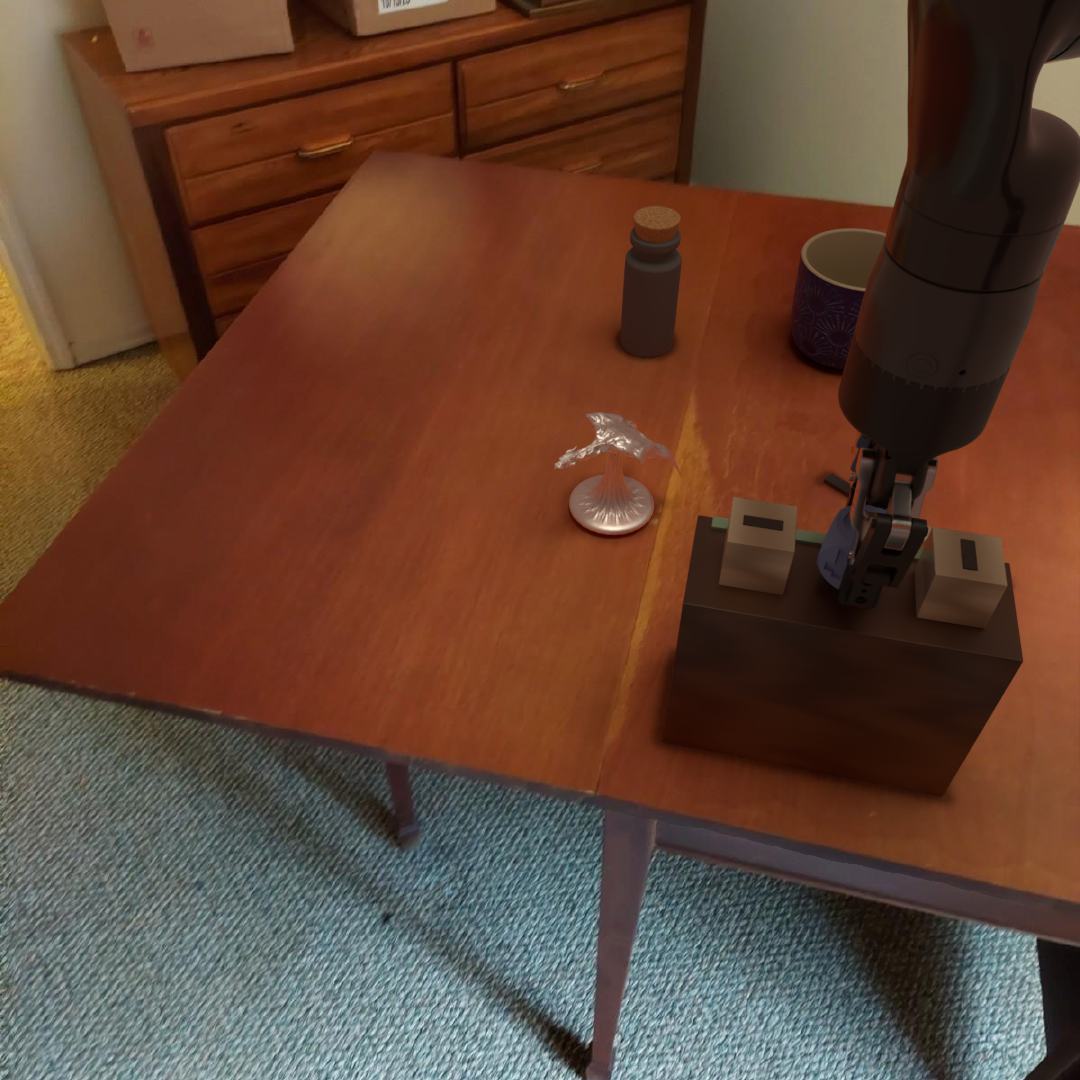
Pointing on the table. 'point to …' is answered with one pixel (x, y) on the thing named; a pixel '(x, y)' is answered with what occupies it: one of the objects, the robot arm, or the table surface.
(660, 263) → the bottle
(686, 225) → the table surface
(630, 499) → the figurine
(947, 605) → the dark brown block
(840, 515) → the decorative dice
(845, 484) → the beige cubes with bar
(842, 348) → the planter
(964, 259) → the robot arm
